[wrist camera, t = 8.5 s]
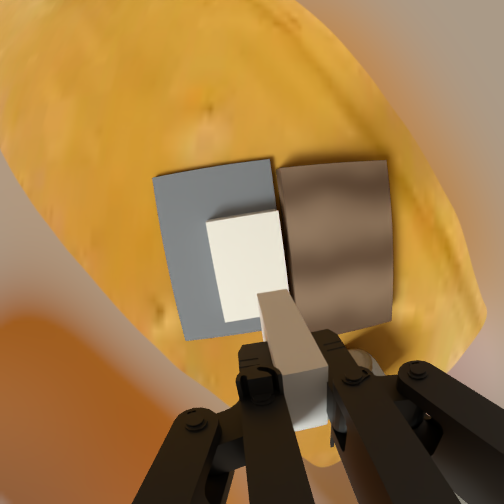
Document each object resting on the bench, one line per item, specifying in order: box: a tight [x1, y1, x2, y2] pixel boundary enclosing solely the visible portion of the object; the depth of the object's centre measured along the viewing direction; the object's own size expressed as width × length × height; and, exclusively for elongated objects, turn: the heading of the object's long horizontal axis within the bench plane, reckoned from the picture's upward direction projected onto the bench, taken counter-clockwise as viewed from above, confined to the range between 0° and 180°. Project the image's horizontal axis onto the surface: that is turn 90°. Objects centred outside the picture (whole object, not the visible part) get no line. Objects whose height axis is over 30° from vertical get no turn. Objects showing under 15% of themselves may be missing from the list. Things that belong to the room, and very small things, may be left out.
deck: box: [276, 160, 393, 335], centre depth 27 cm, size 16×10×2 cm, turn 8°
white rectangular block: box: [206, 209, 289, 322], centre depth 26 cm, size 9×6×2 cm, turn 9°
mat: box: [152, 159, 277, 341], centre depth 27 cm, size 16×10×1 cm, turn 8°
